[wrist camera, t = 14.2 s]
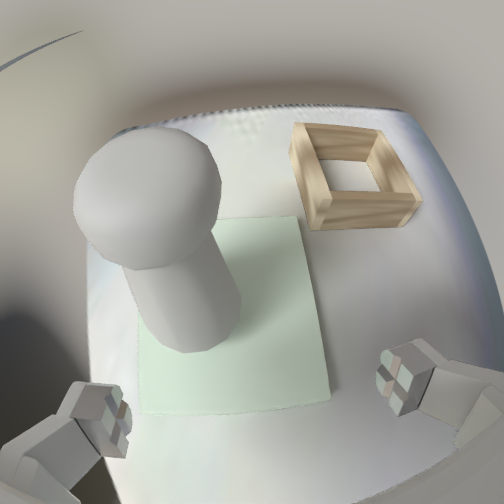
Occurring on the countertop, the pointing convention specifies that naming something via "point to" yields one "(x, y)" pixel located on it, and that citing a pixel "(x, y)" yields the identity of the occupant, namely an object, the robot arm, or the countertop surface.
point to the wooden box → (351, 202)
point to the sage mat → (246, 334)
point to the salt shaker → (162, 233)
